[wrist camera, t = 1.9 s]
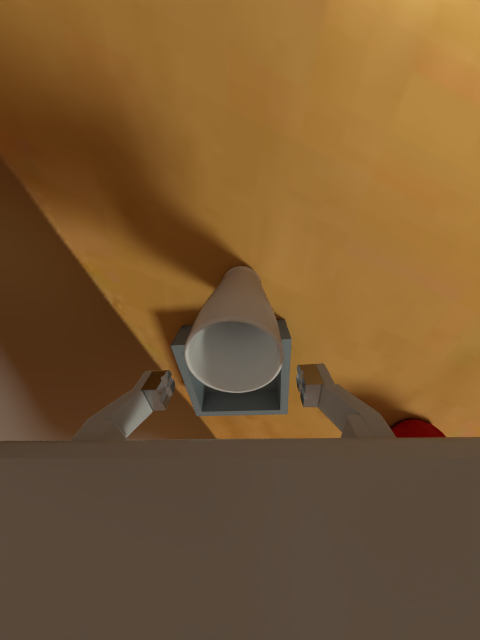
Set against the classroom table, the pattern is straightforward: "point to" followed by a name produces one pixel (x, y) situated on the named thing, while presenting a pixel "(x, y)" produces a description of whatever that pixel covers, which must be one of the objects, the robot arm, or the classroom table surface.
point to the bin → (227, 403)
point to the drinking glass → (235, 336)
